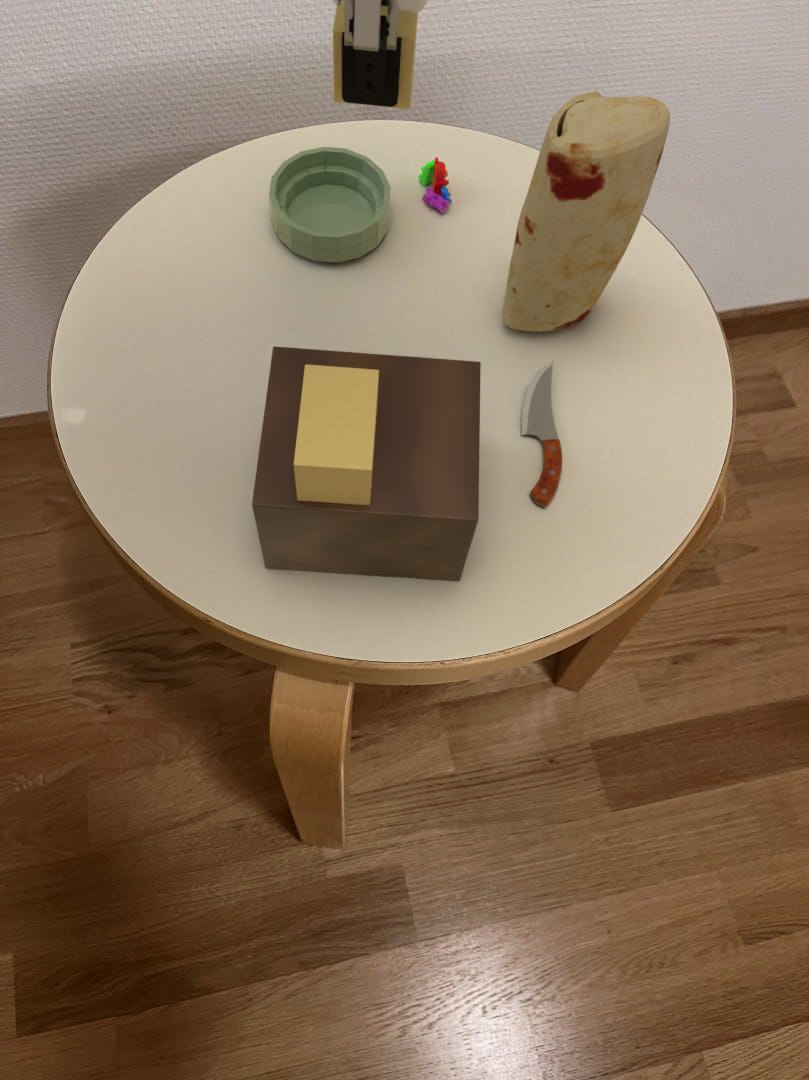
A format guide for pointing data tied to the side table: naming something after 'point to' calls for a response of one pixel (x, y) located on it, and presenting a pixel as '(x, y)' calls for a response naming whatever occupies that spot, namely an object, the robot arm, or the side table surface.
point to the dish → (329, 204)
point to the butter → (336, 435)
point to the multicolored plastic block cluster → (436, 185)
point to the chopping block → (377, 472)
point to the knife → (543, 434)
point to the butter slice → (408, 34)
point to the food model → (582, 207)
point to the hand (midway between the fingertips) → (372, 79)
